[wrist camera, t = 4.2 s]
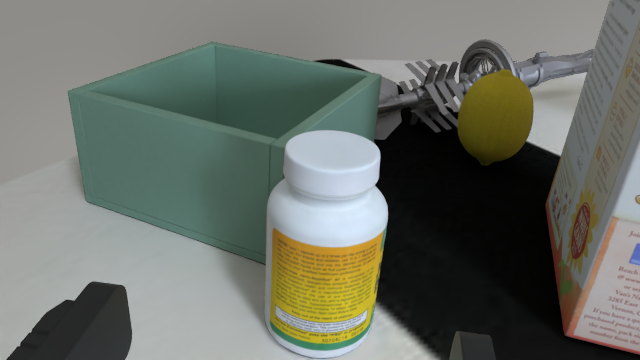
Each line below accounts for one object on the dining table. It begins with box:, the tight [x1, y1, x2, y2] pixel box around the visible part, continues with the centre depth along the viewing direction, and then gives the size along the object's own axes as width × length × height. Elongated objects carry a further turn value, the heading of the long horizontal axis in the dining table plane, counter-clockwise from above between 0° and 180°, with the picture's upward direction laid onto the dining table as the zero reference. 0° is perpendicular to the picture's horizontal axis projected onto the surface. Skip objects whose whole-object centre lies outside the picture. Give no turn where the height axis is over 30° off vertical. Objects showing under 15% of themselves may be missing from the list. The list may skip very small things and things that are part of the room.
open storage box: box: [68, 42, 382, 264], centre depth 37 cm, size 15×15×8 cm
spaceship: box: [374, 39, 594, 140], centre depth 51 cm, size 8×35×8 cm
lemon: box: [458, 69, 533, 166], centre depth 43 cm, size 6×6×8 cm
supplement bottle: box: [264, 130, 388, 358], centre depth 25 cm, size 5×5×10 cm
